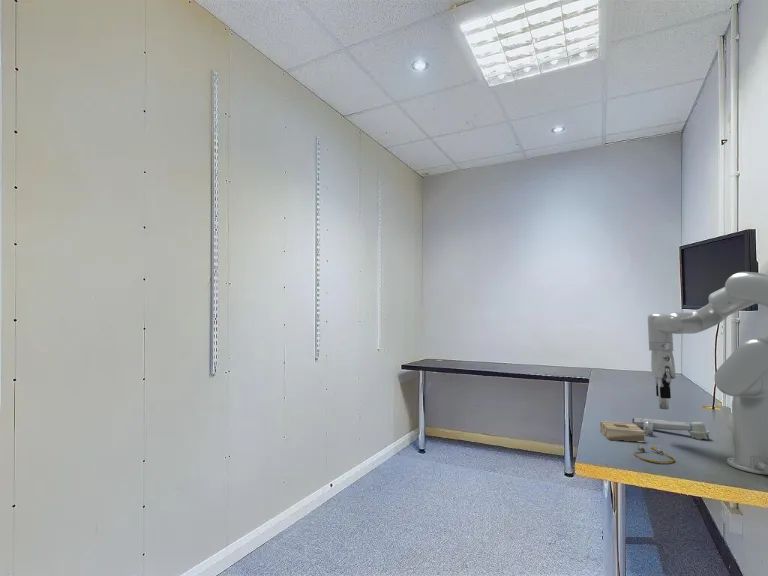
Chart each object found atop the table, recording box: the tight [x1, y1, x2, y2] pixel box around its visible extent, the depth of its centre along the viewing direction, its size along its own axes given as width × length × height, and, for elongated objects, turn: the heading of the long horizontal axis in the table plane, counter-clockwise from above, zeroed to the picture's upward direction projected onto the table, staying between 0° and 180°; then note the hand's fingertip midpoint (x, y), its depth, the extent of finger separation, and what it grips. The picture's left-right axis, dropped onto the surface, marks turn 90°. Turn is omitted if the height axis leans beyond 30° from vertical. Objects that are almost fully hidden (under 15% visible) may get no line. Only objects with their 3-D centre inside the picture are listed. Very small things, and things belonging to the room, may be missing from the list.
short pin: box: [643, 421, 654, 436], centre depth 164 cm, size 3×3×5 cm
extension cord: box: [633, 443, 676, 465], centre depth 139 cm, size 12×16×2 cm
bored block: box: [599, 420, 645, 442], centre depth 161 cm, size 12×12×4 cm
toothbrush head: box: [631, 417, 710, 440], centre depth 167 cm, size 5×7×25 cm
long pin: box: [658, 377, 670, 410], centre depth 155 cm, size 3×3×12 cm
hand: (663, 396), depth 155 cm, fingers closed on long pin, 3 cm apart
